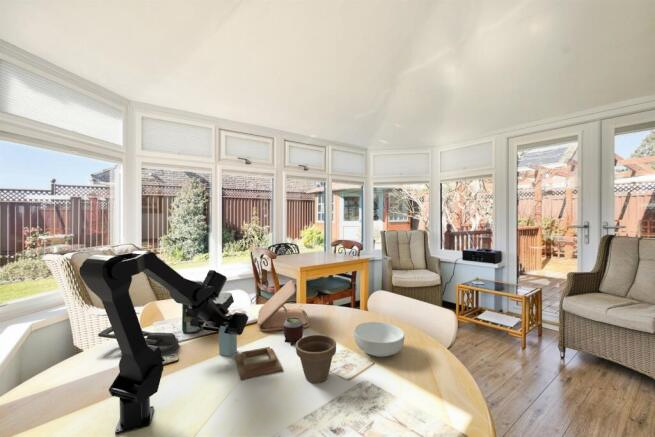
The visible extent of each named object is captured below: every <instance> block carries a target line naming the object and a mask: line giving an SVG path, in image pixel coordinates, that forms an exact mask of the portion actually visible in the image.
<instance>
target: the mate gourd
mask: <svg viewBox="0 0 655 437" xmlns="http://www.w3.org/2000/svg"><path fill="white" fill-rule="evenodd" d="M280 306H282V305H280ZM281 308H283V310H285V312H286V315H287V318H288V319H287V320H286V321H285V323H284V326H283V330H282V331H283V337H284V342H285V343H290V347H292V346H294V344H295V343H297V341H298V340H299V339H301V338H303V336H304V335H303V334H304V333H303V332H304V328H303V324H302V321H301V320H300V319H299V318H294V317H293V318H289V316H288V313H287V310H288V309H287V308H286V307H285V305H283V306H282V307H281Z"/></svg>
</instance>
